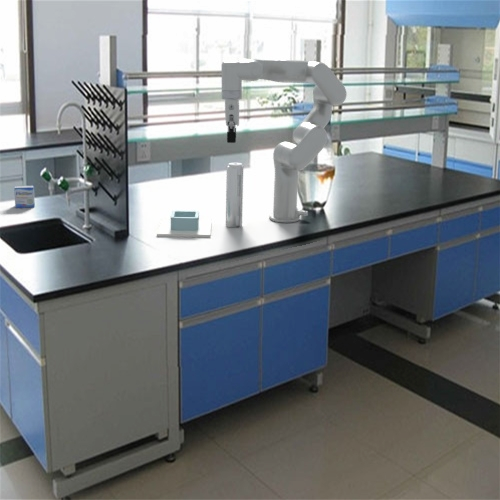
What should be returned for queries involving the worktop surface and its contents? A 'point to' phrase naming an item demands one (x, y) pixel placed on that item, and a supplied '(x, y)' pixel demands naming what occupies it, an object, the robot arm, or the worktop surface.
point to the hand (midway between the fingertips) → (231, 140)
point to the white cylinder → (234, 195)
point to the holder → (184, 225)
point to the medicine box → (24, 196)
